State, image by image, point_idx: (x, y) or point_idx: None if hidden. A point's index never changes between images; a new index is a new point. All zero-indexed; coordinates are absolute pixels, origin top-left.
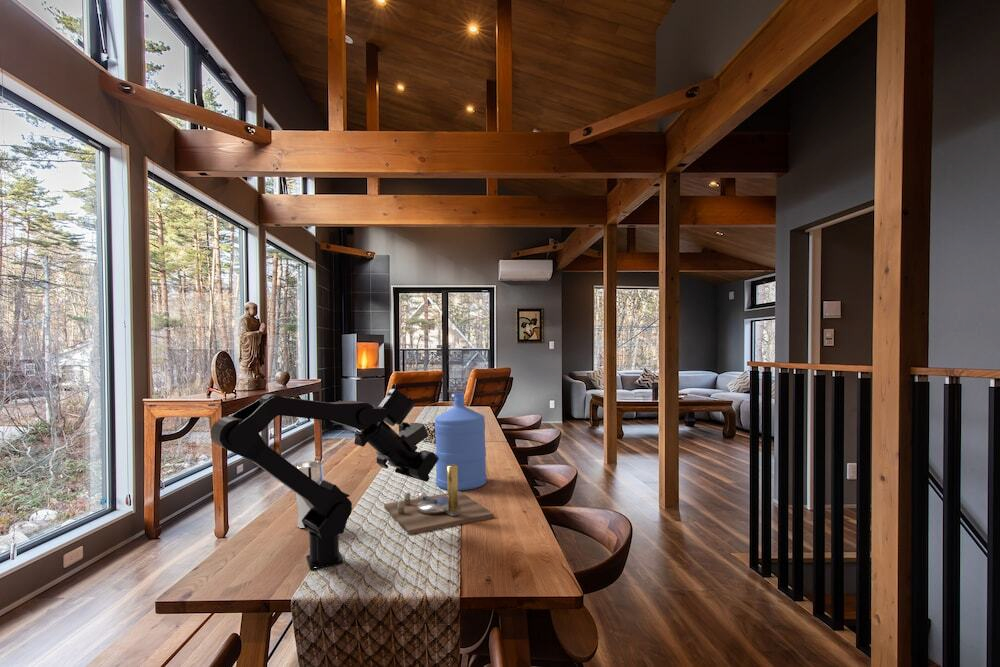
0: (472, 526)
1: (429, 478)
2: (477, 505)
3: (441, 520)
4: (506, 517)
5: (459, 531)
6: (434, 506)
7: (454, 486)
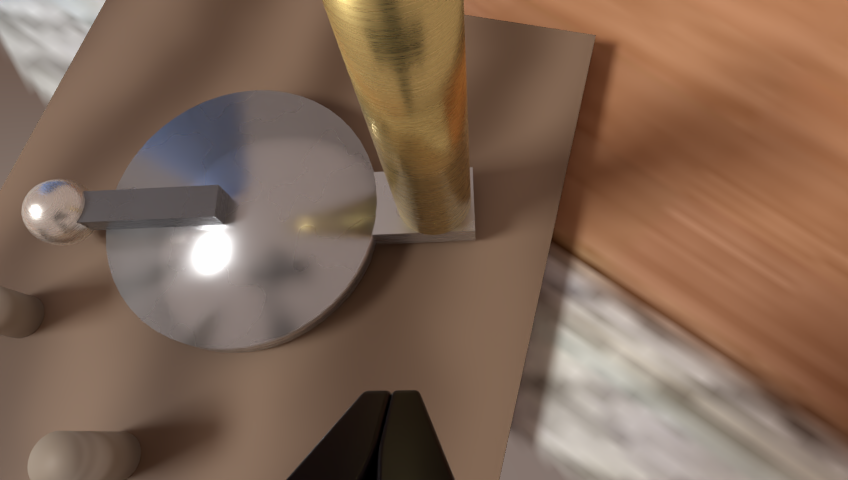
0: (632, 214)
1: (419, 394)
2: None
3: (466, 331)
4: (638, 3)
5: (654, 323)
6: (274, 252)
7: (464, 108)
